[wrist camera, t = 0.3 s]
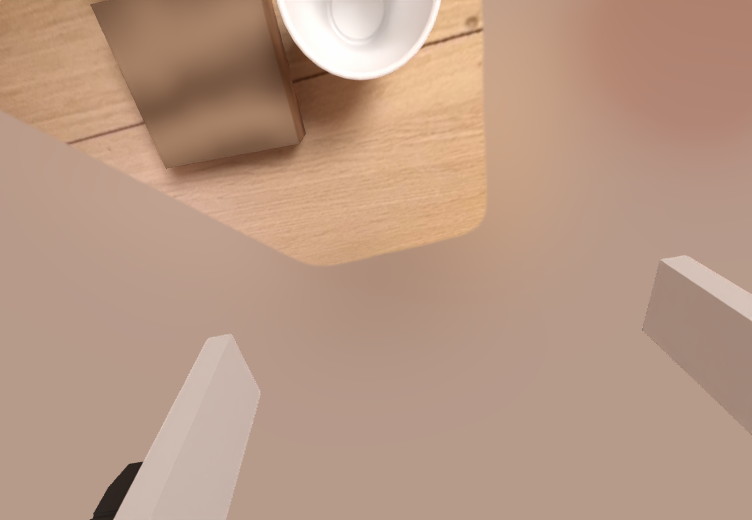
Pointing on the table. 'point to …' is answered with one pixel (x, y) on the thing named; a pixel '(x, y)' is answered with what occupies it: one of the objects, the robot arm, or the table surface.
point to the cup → (359, 33)
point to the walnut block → (205, 75)
